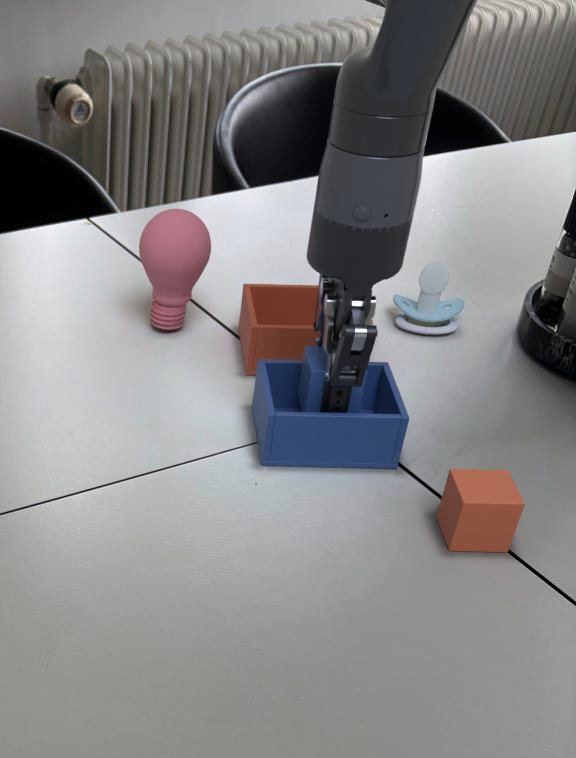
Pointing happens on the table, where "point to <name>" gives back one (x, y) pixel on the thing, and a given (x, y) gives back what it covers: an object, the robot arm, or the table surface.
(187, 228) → the light bulb
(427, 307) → the pacifier
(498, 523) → the terracotta block
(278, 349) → the terracotta bin
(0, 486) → the table surface
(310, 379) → the blue block
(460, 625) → the table surface
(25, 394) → the table surface
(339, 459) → the blue bin
